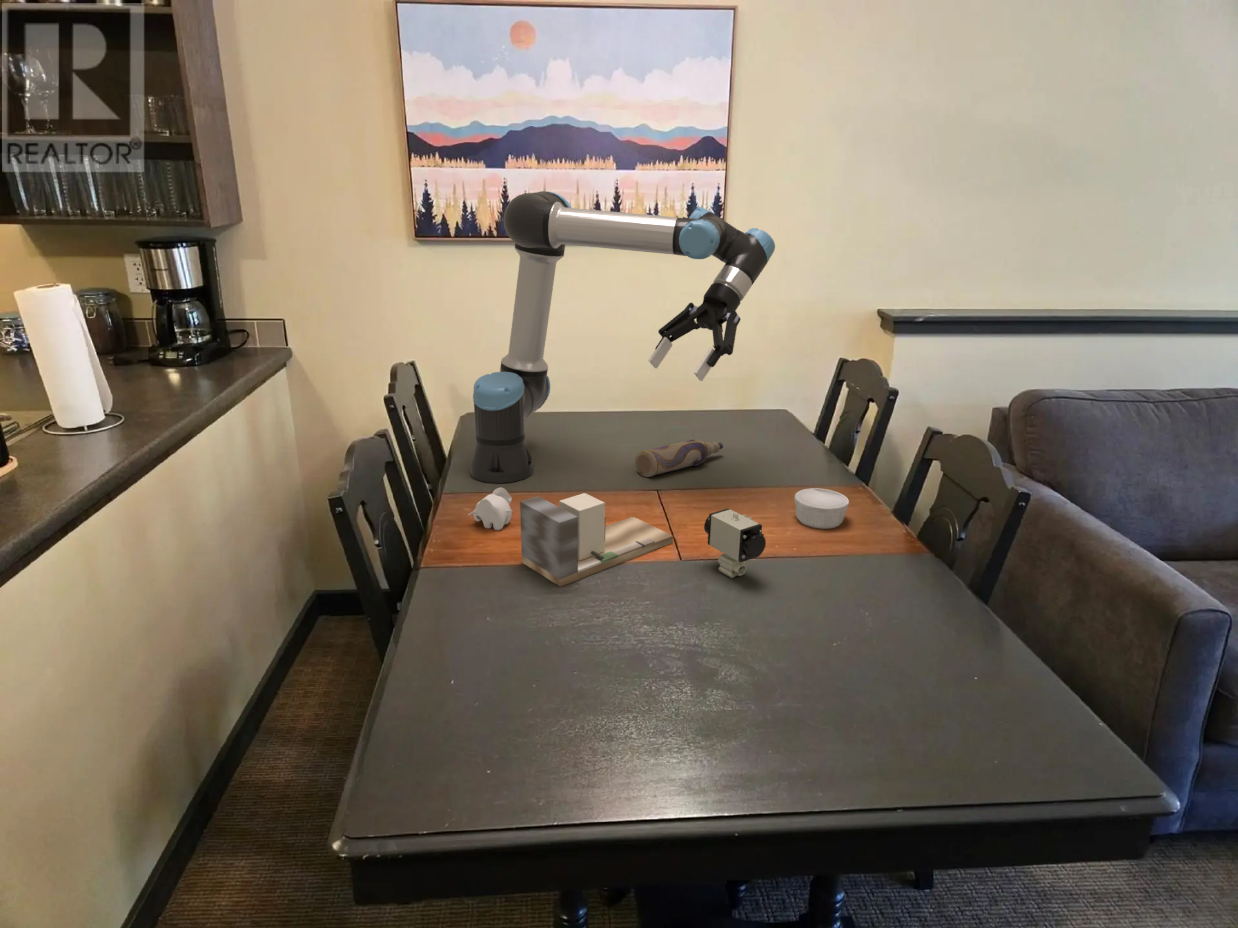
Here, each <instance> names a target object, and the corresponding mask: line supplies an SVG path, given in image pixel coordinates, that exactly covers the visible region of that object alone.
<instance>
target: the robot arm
mask: <svg viewBox="0 0 1238 928" xmlns="http://www.w3.org/2000/svg"><path fill="white" fill-rule="evenodd" d="M503 227H504V229H505V232H506V235H508V237H509V239H510V240H511V241H512V242H513V243H514V250H515V251H516V253H517V254H518V255H519V264H518V272H517V282H516V288H515V297H514V304H513V314H512V321H511V328H510V329H511V330H510V337H509V338H510V339H509V345H508V346H509V347H508V353H507V354H506V355H505V356H503V357H502V358H501V362H500V368H499V371H496V372H491V373H487V374H483V375H482V376H480V377H478V378H477V379H476V381H475V382H474V383H473V394H472V400H473V410H474V411H473V412H474V413H473V414H474V429H475V430H474V431H475V445H474V449H473V452H472V457H471V459H470V461H469V462H470V463H469V472H470V473H469V474H470V476H471V477H472V478H473V479H475V480H477V481H481V482H484V483H485V482H486V483H491V484H492V483H495V484H504V483H515V482H518V481H521V480H524V479H527V478H529V477H530V476H531V475H532V474H533V473H534V462H533V458H532V456H531V453H530V450H529V448H528V445H527V443H526V434H525V433H526V431H525V430H526V429H525V428H526V425H525V419H526V418H528V417H530V416H531V415H532V414H533V413H535V412H536V411H537V410H539V409H540V408H541V407H543V405H544V404H545V403H546V401H547V400H548V397H549V396H550V394H551V381H550V377H549V376H548V369H549V366H548V363H547V362H546V361H545V360H544V354H545V346H546V340H547V339H546V338H547V332H548V325H549V318H550V310H551V305H552V304H551V303H552V297H553V291H554V282H555V274H556V267H557V262H558V261H560V260H561V259H562V258H564V256H565V251H566V245H568V246H569V245H570V246H580V247H590V248H599V249H610V250H612V249H613V250H619V251H620V250H622V251H632V252H641V253H642V252H645V253H652V254H653V253H655V254H663V255H676V256H683V257H688V258H690V259H692V260H706V259H707V258H709V257H711V256H713V257H715V258H716V259H718V260H719V261H720V262H722V263H724V265H723V266H722V268H721V270H720V271H719V273H718V274H717V276H716V277H715V278H714V280H713V282H712V283H711V284H710V286H709V288H708V289H707V290H706V292H705V293H704V294H703V300H702V303H701V304H700V305H697V306H696V305H695V304H694V303H693V302H689V303H688V304H687V305H686V306H685V308H684V309H683V310H682V311H681V312H679V313H678V314H677V315H676V316H674V317H673V318H672V319H670V321H668V322H667V323H666V324H665V325H663V326H662V327H660V328H659V329H658V334H659V335H660V337H661V338H660V341H659V342H657V345H656V346H655V349H654V352H653V353H652V354H651V356H650V358H648V362H649V364H650V365H651V366H652V367H653V368H654V369H658V367H659V366H660V365H661V364H662V362H663V360H664V359H665V357H666V356H667V354H668V353H669V351H670V350H671V348H672V347H673V342H674V341H676V340H678V339H680V338H681V337H684V336H685V335H686V334H688V333H690V332H692V331H694V330H699V329H704V330H705V329H707V330H709V331H712V338H713V340H712V341H713V345H712V347H713V348H712V347H709V349H708V350H707V352H706V354H705V355H703V358H702V360H701V361H700V362H699V364H698V366H696V369H695V370H694V371H693V374H694V375H695V376H696V378H697V379H698V380H699V381H700V382H703V381H704V379H705V377H706V376H707V375H708V373H709V372H710V370H711V369H712V368H714V367H715V366H716V365H717V363H718V362H719V360H720V359H721V357H722V356H724V355H727V356H732V355H733V352H734V347H735V341H736V336H737V335H736V334H737V328H738V325H739V324H740V321H741V317H740V316H739V314H738V313H737V309H738V308H739V306H740V305H741V302H742V301H744V298H745V297H746V295H747V293H749V291H750V289H751V288H752V286H753V285H754V284H755V282H756V281H757V279H758V278H759V276H760V275H761V273H762V272H763V270H764V268H765V267H766V266H767V265H768V262H769V261H770V259H771V257H772V256H773V254H774V252H775V250H776V243H775V241H774V239H773V238H772V236H771V235H770V234H769V233H768V232H766V231H765V230H763V229H759V228H758V227H757V228H756V227H752V228H749V229H748V230H747V231H746V232H744V231H741V230H739V229H738V228H736V227H735V226H733V225H732V224H730V223H729V222H727V221H726V220H724V219H722V218H721V217H719V216H718V215H717V214H715V213H714V212H713V211H709V210H708V209H706V208H704V207H703V206H697V207H696V208H695V209H694V210H693V212H692V213H691V214H690V216H689V217H676V216H666V215H654V214H644V213H643V214H642V213H631V212H621V211H619V212H618V211H611V210H609V211H608V210H597V209H589V208H588V209H587V208H576V207H575V208H574V207H572V206H571V204H570V202H569V201H568V200H567V199H566V198H565V197H563V196H562V195H560V194H558V193H556V192H552V191H546V190H542V191H537V192H526V193H522V194H518V195H517V196H515V197H514V198H513V199H511V200H510V201H509V203H508V204H507V206H506V208H505V211H504V214H503ZM724 323H725V329H723V324H724ZM723 332H724V336H723Z"/></svg>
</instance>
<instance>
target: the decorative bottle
mask: <svg viewBox="0 0 1238 928" xmlns="http://www.w3.org/2000/svg"><path fill="white" fill-rule="evenodd" d="M723 448H724V444H723V443H722V442H717V441H712V442H707V441H704V442H703V441H701V440H700V439H696V438H695V439H689V440H685V441H680V442H676V443H675V442H674V443H672V444H668V445H663V446H656V447H653V448H648V449H643V450H640V451H638V452H637V454H636V456H635V465H636V466H635V467H636V470H637V471H638V473H639V474H640V476H642V477H645V478H650V477H653V476H656V475H661V474H665V473H668V472H673V471H677V470H680V469H684V468H689V467H692V466H695V467H697V466H699V465H701V464H703V463H704V462H705V461H706V460H707V458H708V457H709V456H711V455H713V454H715V453H718V452H719V451H720V450H722V449H723Z"/></svg>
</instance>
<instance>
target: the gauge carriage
mask: <svg viewBox="0 0 1238 928" xmlns="http://www.w3.org/2000/svg"><path fill="white" fill-rule="evenodd" d="M558 505H559V506H558V507H560V508H562V509H564V510H566V511H568V512H570V513H571V514H573V515H575V516H577V517H578V560H582V559H585V558H588V557H590V556H593V555H594V556H596V557H597V558H599V559H601V560H602V559H604V557H603V556H602V555H600V554H598V553H601V552H604V548H605V526H606V514H605V513H606V502H605V501H602V500H600V499H598V498H596V497H594V496H592V495H590V494H588V493H586V492H583V493H581V494H577V495H573V496H570V497H567V498H564V499H560V500H559V504H558Z"/></svg>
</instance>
